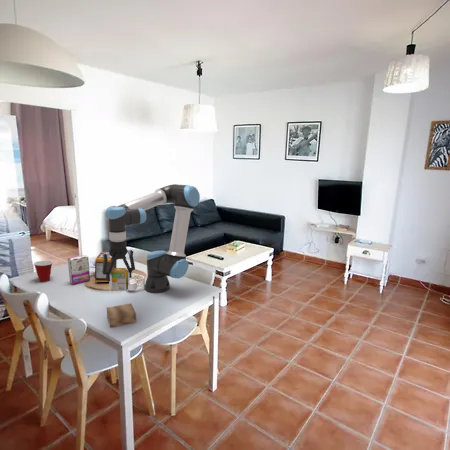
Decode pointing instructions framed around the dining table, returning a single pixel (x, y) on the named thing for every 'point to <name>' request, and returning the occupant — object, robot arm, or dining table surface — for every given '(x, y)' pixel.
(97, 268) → the supplement box
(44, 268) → the plastic cup
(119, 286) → the crayon box
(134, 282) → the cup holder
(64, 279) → the dining table surface
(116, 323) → the walnut block
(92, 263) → the water lily
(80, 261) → the candy bar box
